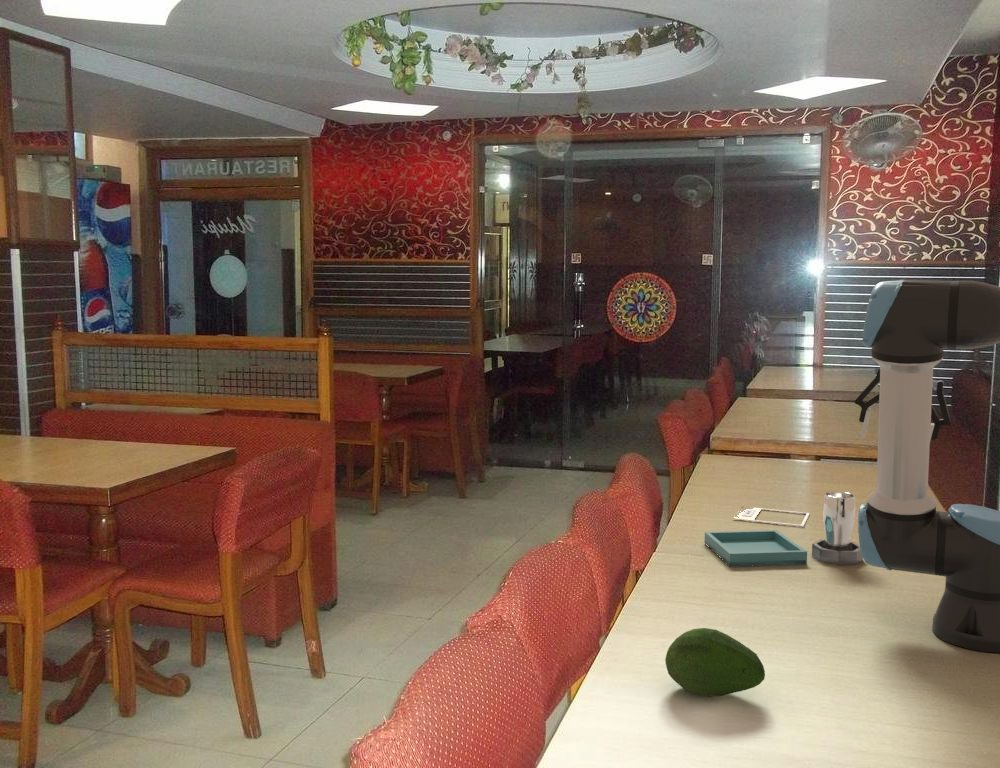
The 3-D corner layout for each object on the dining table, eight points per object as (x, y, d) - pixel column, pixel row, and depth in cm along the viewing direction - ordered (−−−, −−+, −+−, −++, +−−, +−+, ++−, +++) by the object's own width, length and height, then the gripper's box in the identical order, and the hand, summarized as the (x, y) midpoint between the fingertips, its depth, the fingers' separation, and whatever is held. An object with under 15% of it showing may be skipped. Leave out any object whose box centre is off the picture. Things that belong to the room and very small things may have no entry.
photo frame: (742, 505, 262) (809, 512, 255) (742, 509, 263) (809, 516, 255) (733, 517, 249) (803, 525, 242) (733, 521, 249) (803, 529, 242)
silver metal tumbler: (818, 560, 214) (821, 496, 213) (823, 552, 220) (826, 490, 219) (850, 564, 211) (853, 499, 209) (854, 556, 217) (857, 493, 215)
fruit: (768, 690, 147) (770, 628, 146) (757, 716, 138) (760, 652, 137) (674, 672, 153) (675, 614, 152) (658, 697, 144) (659, 635, 143)
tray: (806, 564, 211) (807, 551, 211) (729, 566, 209) (729, 553, 209) (775, 542, 229) (776, 530, 228) (704, 544, 227) (704, 532, 227)
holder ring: (869, 564, 211) (869, 551, 211) (825, 565, 210) (825, 552, 210) (848, 551, 221) (848, 538, 221) (806, 552, 220) (806, 539, 220)
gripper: (978, 364, 205) (953, 455, 210) (860, 340, 216) (839, 427, 221) (977, 368, 198) (952, 462, 203) (856, 343, 209) (834, 433, 214)
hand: (893, 444), depth 212 cm, fingers open, 13 cm apart
